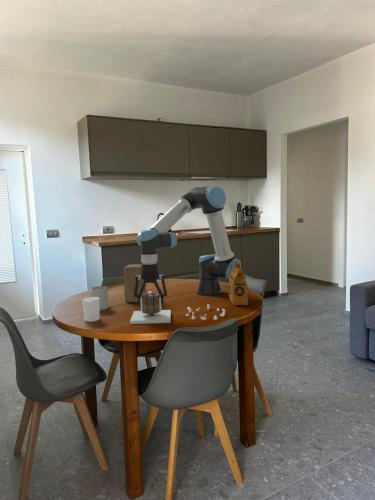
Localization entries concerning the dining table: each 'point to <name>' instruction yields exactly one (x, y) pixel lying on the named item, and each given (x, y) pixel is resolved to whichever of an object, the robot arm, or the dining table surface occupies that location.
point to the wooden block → (132, 282)
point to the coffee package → (238, 286)
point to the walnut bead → (150, 303)
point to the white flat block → (151, 317)
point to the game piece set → (206, 314)
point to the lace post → (150, 295)
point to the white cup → (91, 308)
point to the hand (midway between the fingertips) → (151, 311)
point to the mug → (100, 296)
